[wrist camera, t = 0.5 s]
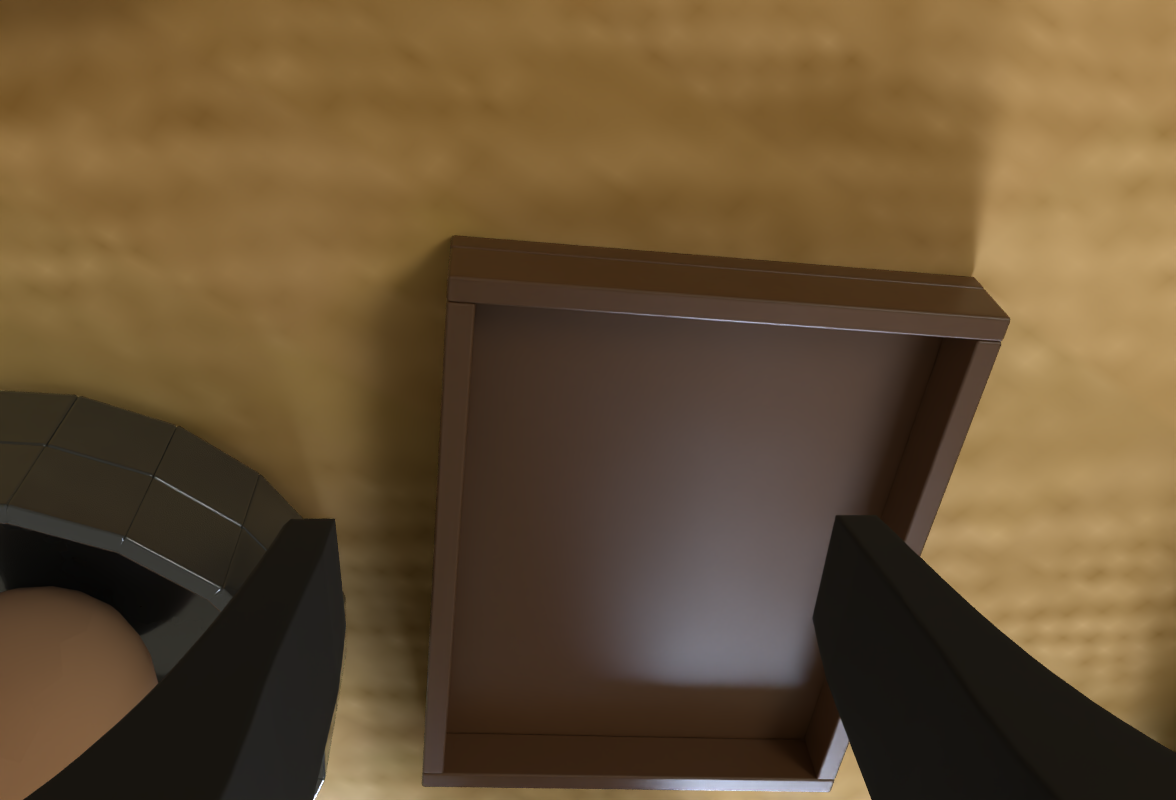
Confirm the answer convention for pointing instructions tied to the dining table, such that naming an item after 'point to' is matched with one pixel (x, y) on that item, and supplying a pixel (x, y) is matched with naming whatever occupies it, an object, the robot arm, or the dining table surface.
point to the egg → (62, 681)
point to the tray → (671, 503)
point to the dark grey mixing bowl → (131, 518)
